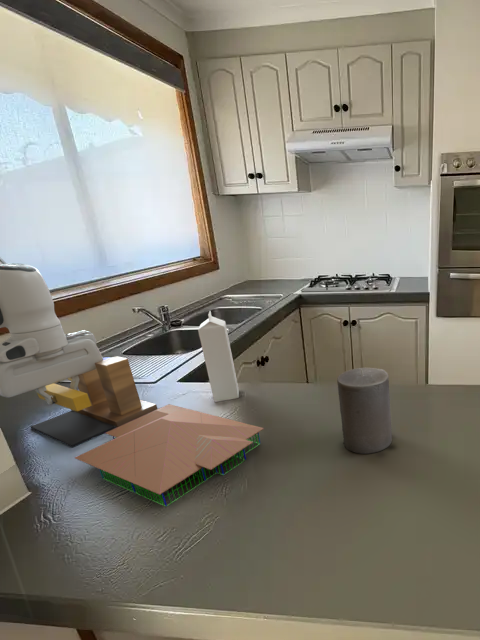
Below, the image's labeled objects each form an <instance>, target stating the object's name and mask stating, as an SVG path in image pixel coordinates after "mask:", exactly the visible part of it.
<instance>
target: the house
mask: <svg viewBox="0 0 480 640" xmlns="http://www.w3.org/2000/svg"><path fill="white" fill-rule="evenodd" d="M263 430H265V428H264V427H261V426H257V425H253V424H249V423H245V422H241V421H237V420H234V419H229V418H226V417H221V416H217V415H213V414H209V413H206V412H202V411H198V410H194V409H190V408H186V407H182V406H178V405H174V404H170V403H168V404H166V405H163V406H162V407H159V408H158V409H157V410H155V411H153V412H150V413H148V414H146V415H144V416H141V417H139V418H137V419H135V420H133V421H130V422H128V423H126V424H124V425H122V426H119V427H115V429H113V430H111V431H108V432H106V433H104V435H105V434H106V435H108V436H111V437H112V439H111V440H108V441H107V442H104V443H102V444H100V445H98V446H96V447H94V448H92V449H90V450H87V451H86V452H85V451H84V452H83V453H81V454H79V455H77V456H74V459H75V460H77V461H80V462H82V463H85V464H87V465H89V466H92V467H94V468H96V469H98V470H99V472H100V475H101V478H102V479H103V480H105V481H107V482H109V483H111V484H114V485H116V486H119V487H121V488H123V489H125V490H128V491H129V492H132V493H134V494H137V495H138V496H141V497H143V498H145V499H148V500H150V501H152V502H154V503H157V504H159V505H161V506H163V507H166V508H167V507H168V506H170V505H171V504H173V503H174V502H176V501H177V500H179V499H180V498H182V497H183V496H185V495H186V494H188V493H189V492H190V491H192V490H194V489H195V488H197V487H198V486H200V485H201V484H203V483H205V482H206V481H208V480H209V479H211V477H213V476H214V475H217V474H219V475H220V476H224V475H226V474H227V473H229V472H231V471H232V470H234V469H235V468H236V467H238V466H239V465H241V464H242V463H244V462H245V461H247V457H246V454H248V453H249V452H250V451H252V450H253V449H255V448H256V447H258V446H260V445H261V444H262V443H261V438H260V433H259V432H261V431H263ZM254 437H255V438H254ZM252 444H253V445H254V446H252ZM249 446H250V448H251V449H249ZM246 448H247V451H246ZM243 456H244V457H243ZM230 458H231V460H230ZM237 459H239V463H238V460H237ZM234 460H235V461H236V462H234ZM241 460H242V461H241ZM226 461H227V462H226ZM230 462H232V466H233V467H232V468H231V464H230ZM223 463H224V464H223ZM234 463H236V465H235V464H234ZM227 465H228V466H229V470H228V468H227ZM224 466H225V471H226V472H225V473H224V468H223V467H224ZM217 468H218V469H217ZM214 470H215V471H214ZM206 471H208V474H209V477H207V472H206ZM211 471H212V472H213V474H211ZM198 473H199V474H198ZM190 476H192V478H191V479H190ZM187 478H188V481H187V482H186V479H187ZM195 478H197V480H198V483H199V484H196V480H195ZM203 479H204V480H203ZM192 480H193V483H194V485H195V486H194V487H193V486H192V482H191V481H192ZM200 480H201V481H200ZM182 481H184V484H182ZM179 483H180V486H179V487H178V486H177V485H178V484H179ZM188 483H189V484H190V485H189V486H190V488H191V489H188V485H187V484H188ZM183 486H185V487H186V491H187V492H185V493H184V488H183ZM173 487H175V488H176V489H173ZM180 488H181V490H182V491H181V492H182V495H180V492H179V489H180ZM169 489H171V492H170V493H169ZM175 491H177V495H178V497H177V498H176V496H175V493H174V492H175ZM164 493H167V494H166V495H164ZM171 494H173V499H174V500H171V497H170V495H171ZM166 497H168V498H169V502H170V503H169V504H167V501H166Z"/></svg>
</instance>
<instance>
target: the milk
mask: <svg viewBox="0 0 480 640" xmlns="http://www.w3.org/2000/svg"><path fill="white" fill-rule="evenodd" d="M207 316H208V318H207V319H206V320H204V321H203V322H201V323H200V324H199V326H198V329H197V332H198V337H199V340H200V345H201V348H202V349H201V350H202V354H203V358H204V359H203V360H204V363H205V368H206V372H207V376H208V381H209V386H210V389H211V394H212V398H213V402H214V403H219V402H223V401H229V400H236V399H239V397H240V396H239V395H240V388H239V383H238V379H237V374H236V367H235V365H234V364H235V362H234V359H233V354H232V349H231V348H232V347H231V343H230V339H229V333H228V328H227V323H226V320H224V319H221V318H218V317H215V316H212V312H211V310H209V312H208V314H207Z"/></svg>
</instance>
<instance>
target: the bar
mask: <svg viewBox="0 0 480 640" xmlns="http://www.w3.org/2000/svg"><path fill="white" fill-rule="evenodd" d="M46 389H47V390H46V391H44V392H45V393H47V394H48V395H51V394H52V395H55V396H56V400H57V403H54V404H53V405H57V406H61V407H63V408H66V409H69V410H70V411H71V410H74V411H80V410H82V409H85V408H87V407H90V406H92V405H91V403H90V400H89V397H88V394H87V393H84V392H81V391H79V389H77V390H74V389H71V388H70V387H68V386H64V385H60V384H57V383H53V384H50V385H47V386H46ZM36 394H37V396H38V399H39V400H43V401H46V400H45V397H43V396H42V395H40V394H39V393H37V392H36Z"/></svg>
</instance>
